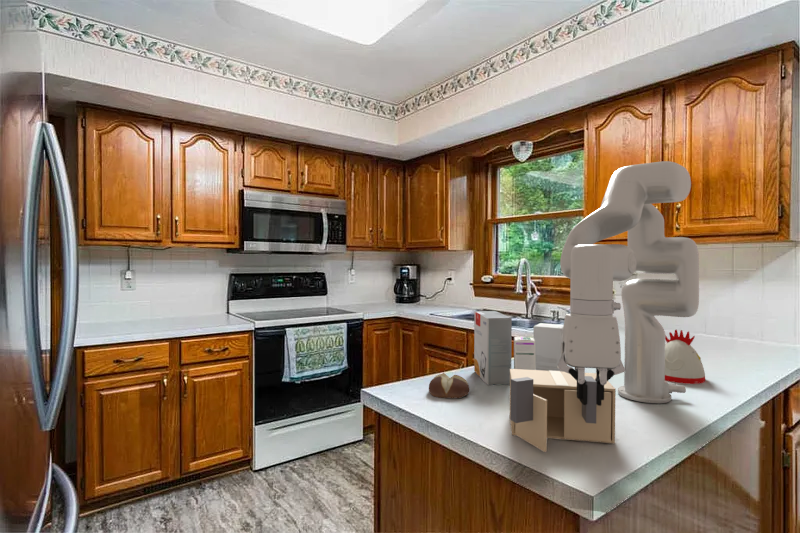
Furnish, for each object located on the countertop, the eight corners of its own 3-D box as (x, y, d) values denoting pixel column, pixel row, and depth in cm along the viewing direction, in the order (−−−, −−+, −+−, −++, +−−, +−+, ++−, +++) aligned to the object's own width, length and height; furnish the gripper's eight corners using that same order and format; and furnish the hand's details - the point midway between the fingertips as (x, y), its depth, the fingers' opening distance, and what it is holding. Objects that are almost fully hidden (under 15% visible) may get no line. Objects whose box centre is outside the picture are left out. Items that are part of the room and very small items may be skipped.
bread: (424, 397, 117) (424, 378, 117) (435, 385, 128) (436, 368, 128) (465, 402, 113) (465, 383, 113) (473, 389, 124) (474, 372, 124)
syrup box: (536, 392, 121) (536, 340, 120) (514, 391, 122) (514, 339, 121) (534, 387, 126) (534, 336, 126) (513, 385, 127) (513, 336, 127)
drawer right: (610, 440, 87) (610, 376, 87) (616, 450, 83) (617, 383, 83) (563, 437, 89) (564, 374, 89) (567, 446, 85) (568, 380, 84)
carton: (600, 421, 99) (600, 373, 99) (614, 443, 88) (615, 388, 87) (509, 415, 103) (509, 368, 103) (511, 435, 92) (512, 382, 91)
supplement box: (567, 369, 147) (567, 324, 146) (561, 375, 139) (561, 328, 139) (539, 365, 152) (540, 322, 151) (532, 371, 144) (532, 325, 144)
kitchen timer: (697, 386, 127) (697, 335, 127) (645, 377, 137) (646, 329, 137) (710, 378, 136) (711, 330, 136) (661, 369, 146) (662, 325, 146)
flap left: (546, 451, 83) (547, 383, 82) (527, 455, 81) (527, 386, 81) (517, 434, 91) (517, 372, 90) (499, 437, 89) (499, 374, 89)
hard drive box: (473, 371, 143) (473, 310, 143) (496, 371, 144) (496, 310, 143) (486, 385, 127) (487, 317, 127) (512, 385, 128) (512, 317, 128)
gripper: (627, 307, 87) (626, 399, 87) (545, 305, 89) (544, 395, 90) (642, 311, 80) (641, 412, 80) (552, 309, 82) (551, 407, 82)
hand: (590, 402), depth 85 cm, fingers closed on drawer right, 2 cm apart
